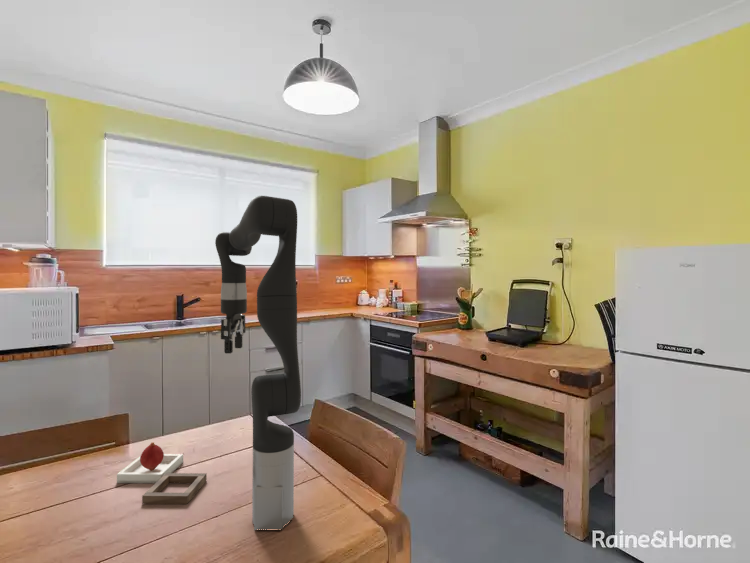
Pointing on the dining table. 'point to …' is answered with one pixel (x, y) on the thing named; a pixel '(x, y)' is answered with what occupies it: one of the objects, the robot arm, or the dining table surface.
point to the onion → (151, 456)
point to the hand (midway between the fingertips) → (233, 350)
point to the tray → (144, 475)
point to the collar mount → (174, 498)
